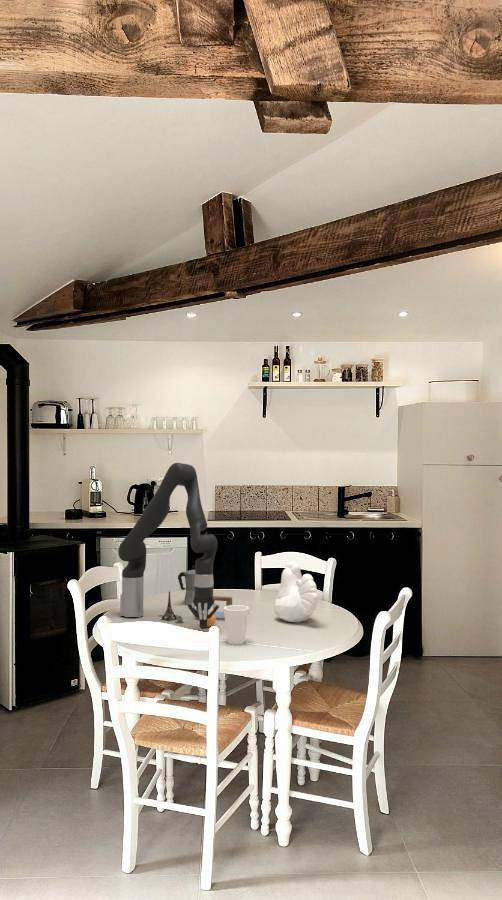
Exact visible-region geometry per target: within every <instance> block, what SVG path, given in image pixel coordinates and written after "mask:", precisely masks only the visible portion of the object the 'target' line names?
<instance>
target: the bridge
mask: <svg viewBox="0 0 502 900" xmlns="http://www.w3.org/2000/svg"><path fill="white" fill-rule="evenodd" d="M213 599H214V602H215V601H216V602H217V601H218V602H219V601H220V602H226V603H225V604H226V605H225V607H226V606H230V605H233V596H222V595H221V596H220V595H219V596H218V595H213ZM195 609H196V611H197V612H198V613H199V610H198V609H197V608H195ZM195 620H196V621H200V619H199V618H196V617H195Z"/></svg>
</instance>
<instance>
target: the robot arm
mask: <svg viewBox="0 0 502 900" xmlns="http://www.w3.org/2000/svg"><path fill="white" fill-rule="evenodd" d="M178 486H182V487H184V489H185V491H186V493H187V494H186V495H187V502H186V508H185V515H186V518H187V523H188V525H189V530H190V547H191V550H192V551H193V552H194V553H196V554H202V553H204V554H203V555H202V557H199V558H197V559H196V560H195V564H194V566H195V580H194V600H193V602H192V603H191V604H189V605H188V606H187V608H188V609H189V611H190V612H191V613H192V615H193V616H194V617H195V619H196V618H199V619H200V620H199V628H201V630H206V628H208V627H207V619H208V618H211V617H212V616H213V614H214V613H215V612H218V609H219V608H220V605H219V604H218V603H216V602H215V601H214V599H213V596H214V575H213V574H214V561H215V557H216V553H217V549H218V540H217V538H216V537H217V536H215V535H214V534H211V533H209V534H208V533H207V534H201V533H202V532H203V531H205V530H206V529H207V528H208V522H207V519H206V515H205V513H204V510H203V509H204V508H203V505H202V501H201V495H200V488H199V487H200V486H199V481H198V475H197V471H196V468H195V467H194V465H191V464H188V463H183V462H182V463H181V462H174V463H172V464H171V465H170V466H169V467H168V469H167V471H166V472H165V475H164V477H163V479H162V481H161V483H160V485H159V486H158V488H157V490H156V491H155V493H154V495H153V496H152V498H151V500H150V501H149V502H148V504H147V506H146V507H145V508H144V511H142V514H141V515H140V517H139V518H138V520H137V521H136V523H135V524H134V526H133V527H132V529H131V530H130V532H129V533H128V534H127V535H126V537H125V538H124V539H123V540H122V541H121V543H120V544H119V547H118V551H117V553H118V557H119V559H120V560H121V561H123V562H127V565H126V566H125V567H124V568H123V569H122V572H121V594H120V597H119V599H120V600H119V601H120V602H119V605H120V606H119V612H120V613H119V615H120V616H126V617H139V618H142V617H143V616H144V585H145V584H144V576H145V575H144V573H145V571H146V567H147V546H146V543H145V542H144V541H145V540H146V539H147V538H148V537H149V536H150V535H151V534H153V533H154V531H156V530H157V529H158V528H160V526H161V525H162V524H163V522H164V521H165V519H166V517H167V516H168V515H169V513H170V509H171V507H170V506H171V505H170V504H171V503H170V502H171V497H172V496H171V495H172V494H173V492H174V491H175V489H176V488H177V487H178ZM194 605H195V606H194ZM195 607H196V608H197V609H198V610H199V613H198V612H197V611H196V608H195ZM211 608H212V610H211ZM210 610H211V611H212V612H211V613H210V614H209V615H208V611H210ZM203 614H204V615H203ZM120 616H119V617H120ZM141 616H142V617H141ZM203 617H204V619H203Z"/></svg>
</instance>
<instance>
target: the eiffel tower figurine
mask: <svg viewBox="0 0 502 900" xmlns="http://www.w3.org/2000/svg"><path fill="white" fill-rule="evenodd" d="M168 590H169V591H168V601H167V607H166V610H165V612H164V614H163V615H161V614H160V615H158V616H157V617H158V618H159V617H161V618H160V619H159V620H160V621H165V622H173V621H174V623H176V624H184V621H183V618H182V616H181V615H177V614H175V612H174V611H173V608H172V603H171V590H170V589H168Z"/></svg>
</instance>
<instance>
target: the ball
mask: <svg viewBox="0 0 502 900" xmlns="http://www.w3.org/2000/svg"><path fill="white" fill-rule="evenodd" d="M210 613H211V612H208V615H209V614H210ZM203 615H204V613H203ZM203 619H204V617H203ZM216 621H217V619H216V617H215V615H214V614H213V616H212V617H211V618H208V619H207V627H206V628H210V626H211V627H212V626H214V625H215V623H216Z"/></svg>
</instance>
